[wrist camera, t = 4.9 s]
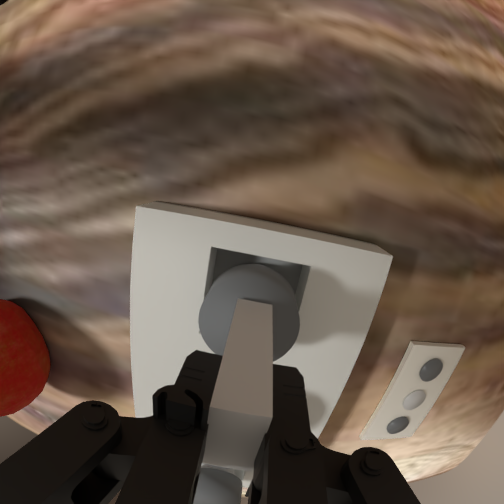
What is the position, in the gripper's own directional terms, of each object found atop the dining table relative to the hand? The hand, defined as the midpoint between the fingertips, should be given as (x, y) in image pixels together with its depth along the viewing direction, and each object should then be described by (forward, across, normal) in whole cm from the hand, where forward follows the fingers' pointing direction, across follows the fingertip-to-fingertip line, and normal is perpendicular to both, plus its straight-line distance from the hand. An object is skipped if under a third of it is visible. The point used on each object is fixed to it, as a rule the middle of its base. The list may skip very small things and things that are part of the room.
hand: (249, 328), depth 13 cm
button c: (+4, 0, -16) cm, 17 cm away
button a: (+5, 0, 0) cm, 5 cm away
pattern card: (+6, +16, -8) cm, 18 cm away
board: (+6, 0, -8) cm, 10 cm away
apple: (+6, -22, -12) cm, 26 cm away
